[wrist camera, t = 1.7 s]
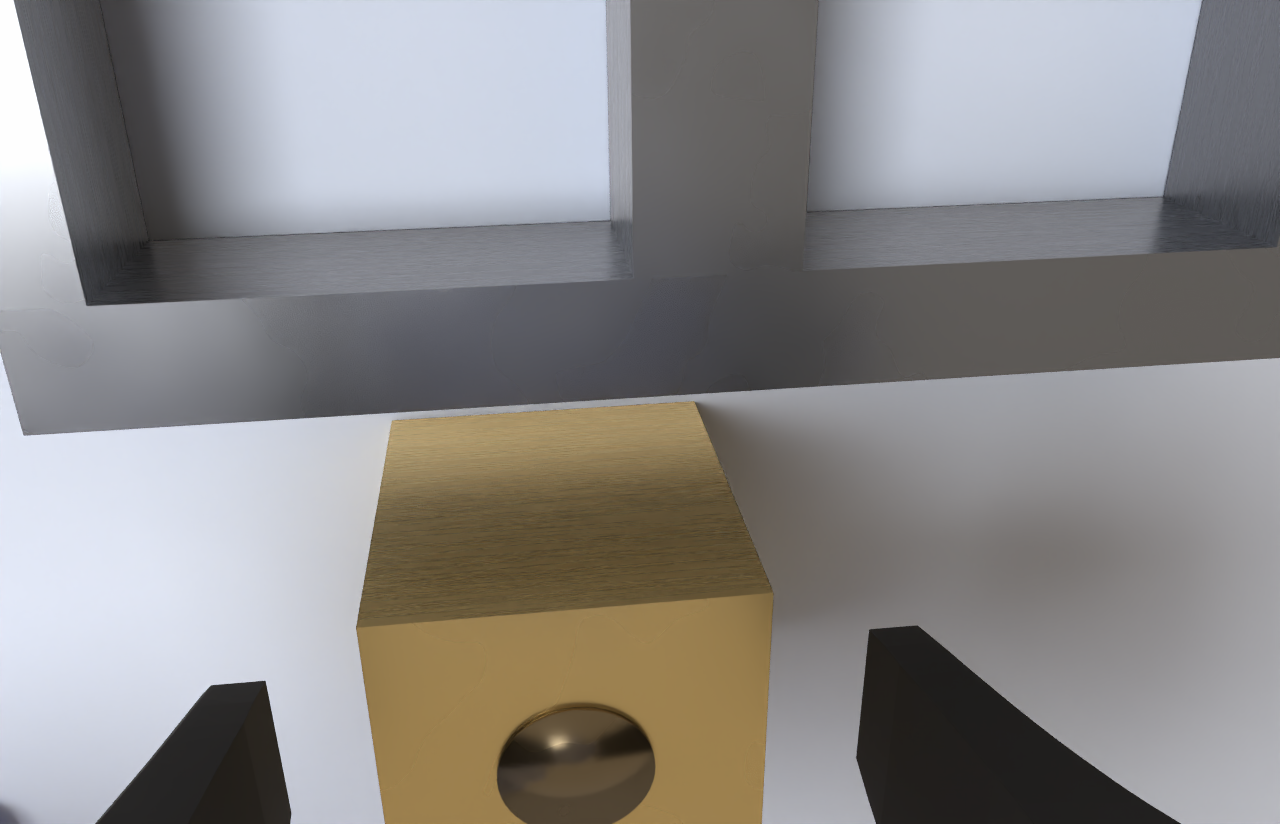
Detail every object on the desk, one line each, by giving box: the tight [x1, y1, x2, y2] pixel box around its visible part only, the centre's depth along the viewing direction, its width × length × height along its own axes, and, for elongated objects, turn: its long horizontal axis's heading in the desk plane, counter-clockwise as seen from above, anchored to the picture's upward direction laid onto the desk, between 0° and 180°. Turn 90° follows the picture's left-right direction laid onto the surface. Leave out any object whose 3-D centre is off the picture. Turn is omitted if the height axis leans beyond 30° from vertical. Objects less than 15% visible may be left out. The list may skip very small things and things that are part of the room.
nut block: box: [356, 401, 773, 824], centre depth 15 cm, size 4×4×5 cm
